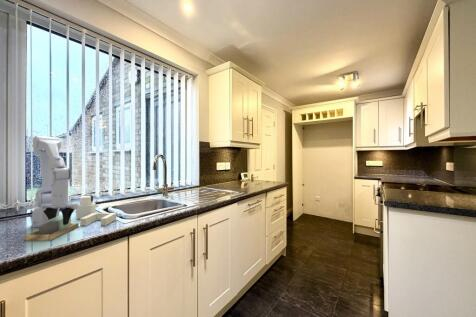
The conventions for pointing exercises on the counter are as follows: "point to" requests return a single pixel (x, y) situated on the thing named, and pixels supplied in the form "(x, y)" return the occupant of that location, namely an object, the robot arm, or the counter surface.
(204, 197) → the counter surface
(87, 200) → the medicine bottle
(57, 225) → the gray green block
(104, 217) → the bay
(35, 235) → the tray
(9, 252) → the counter surface
